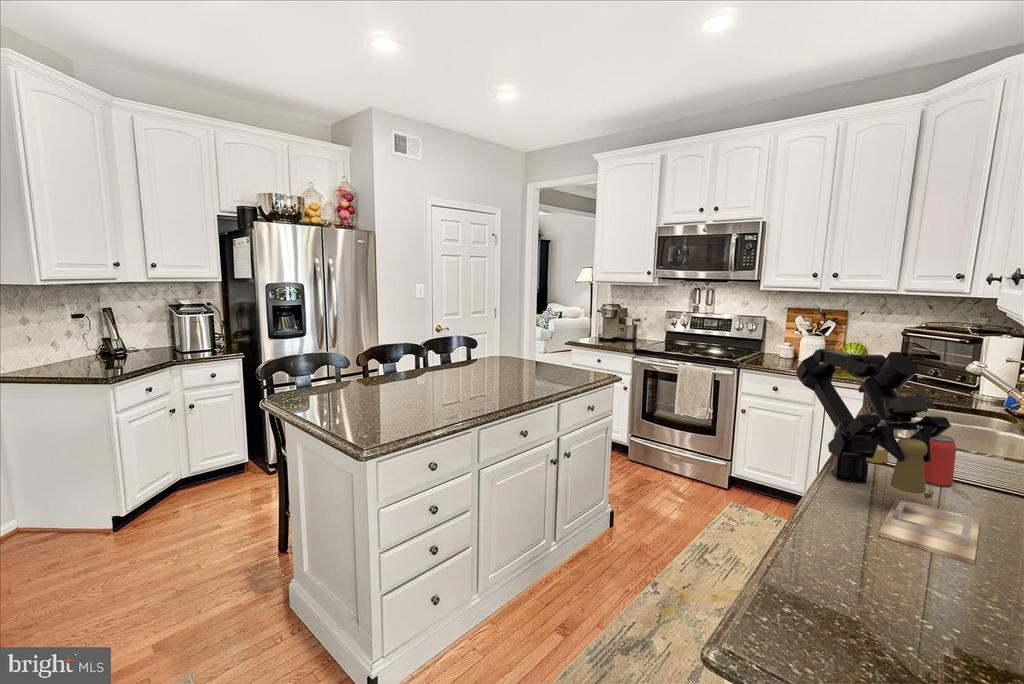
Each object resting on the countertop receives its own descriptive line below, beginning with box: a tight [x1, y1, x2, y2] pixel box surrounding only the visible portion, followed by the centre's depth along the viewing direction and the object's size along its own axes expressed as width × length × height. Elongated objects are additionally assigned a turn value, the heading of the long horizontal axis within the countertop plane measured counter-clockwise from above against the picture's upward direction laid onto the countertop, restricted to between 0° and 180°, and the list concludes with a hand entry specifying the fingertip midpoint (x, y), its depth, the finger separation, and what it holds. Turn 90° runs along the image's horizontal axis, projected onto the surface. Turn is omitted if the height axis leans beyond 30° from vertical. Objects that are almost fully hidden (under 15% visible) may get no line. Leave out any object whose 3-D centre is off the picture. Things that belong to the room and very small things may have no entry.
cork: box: [890, 437, 928, 495], centre depth 105 cm, size 6×6×11 cm
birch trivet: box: [877, 498, 981, 566], centre depth 99 cm, size 14×22×1 cm, turn 134°
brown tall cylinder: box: [861, 377, 889, 464], centre depth 137 cm, size 7×7×25 cm
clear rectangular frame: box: [891, 501, 972, 546], centre depth 99 cm, size 12×12×2 cm
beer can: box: [923, 434, 957, 487], centre depth 122 cm, size 7×7×12 cm
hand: (915, 461), depth 103 cm, fingers closed on cork, 5 cm apart
